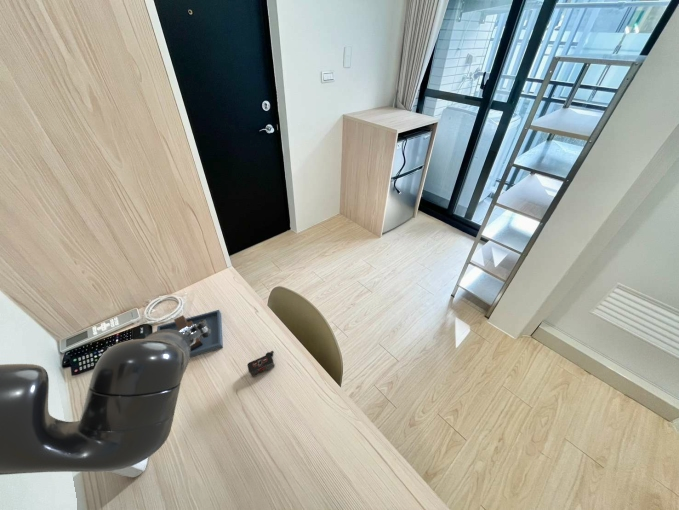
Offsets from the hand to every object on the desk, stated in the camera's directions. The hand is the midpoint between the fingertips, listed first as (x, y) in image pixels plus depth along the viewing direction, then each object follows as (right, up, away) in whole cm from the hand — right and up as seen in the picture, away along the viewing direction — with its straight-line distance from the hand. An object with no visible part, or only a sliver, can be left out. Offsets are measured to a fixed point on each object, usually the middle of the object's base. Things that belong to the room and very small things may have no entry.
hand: (172, 340), depth 54 cm
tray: (-10, -7, +24) cm, 27 cm away
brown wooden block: (-9, -7, +24) cm, 26 cm away
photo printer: (-10, -26, +6) cm, 28 cm away
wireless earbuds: (+13, -13, +19) cm, 27 cm away
